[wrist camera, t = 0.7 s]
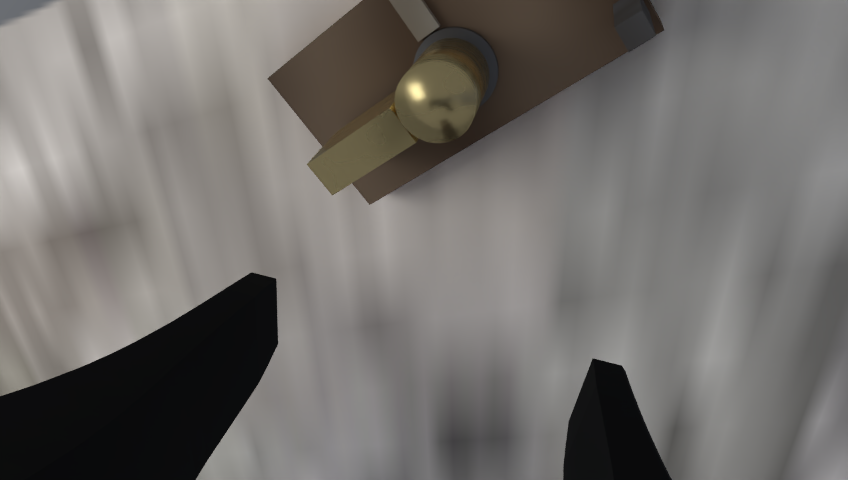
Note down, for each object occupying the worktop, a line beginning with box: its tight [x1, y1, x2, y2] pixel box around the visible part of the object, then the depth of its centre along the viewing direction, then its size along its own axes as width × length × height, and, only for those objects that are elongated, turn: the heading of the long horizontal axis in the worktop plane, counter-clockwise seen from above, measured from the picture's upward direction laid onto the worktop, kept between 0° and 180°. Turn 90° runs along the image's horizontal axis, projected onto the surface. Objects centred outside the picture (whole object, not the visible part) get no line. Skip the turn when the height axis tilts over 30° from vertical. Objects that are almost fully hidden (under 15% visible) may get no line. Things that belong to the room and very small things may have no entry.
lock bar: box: [307, 38, 489, 195], centre depth 18 cm, size 6×2×2 cm, turn 128°
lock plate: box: [268, 0, 664, 205], centre depth 18 cm, size 11×6×4 cm, turn 128°
